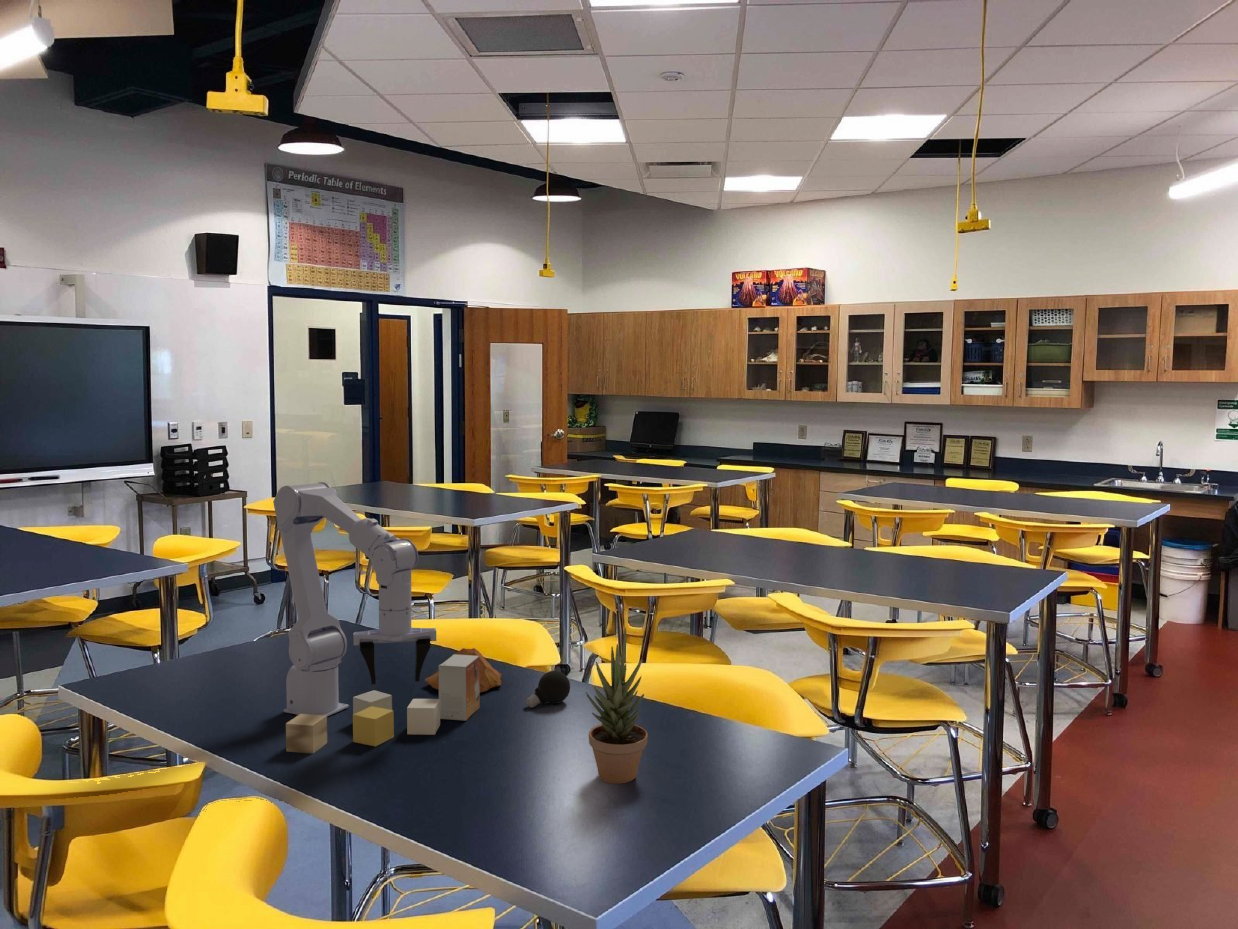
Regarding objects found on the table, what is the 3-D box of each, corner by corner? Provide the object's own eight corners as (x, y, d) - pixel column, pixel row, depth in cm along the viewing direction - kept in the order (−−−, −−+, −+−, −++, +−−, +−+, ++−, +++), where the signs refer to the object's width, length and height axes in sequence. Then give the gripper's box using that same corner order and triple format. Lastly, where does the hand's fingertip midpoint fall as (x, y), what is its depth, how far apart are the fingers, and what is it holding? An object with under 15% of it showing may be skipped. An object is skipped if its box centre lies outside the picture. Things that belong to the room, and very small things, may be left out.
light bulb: (514, 685, 187) (554, 659, 193) (520, 710, 190) (560, 684, 196) (532, 700, 183) (573, 673, 188) (539, 725, 186) (579, 698, 191)
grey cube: (353, 723, 178) (352, 697, 178) (374, 715, 182) (374, 690, 182) (371, 728, 175) (370, 702, 175) (392, 721, 179) (391, 695, 179)
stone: (512, 691, 205) (519, 655, 200) (468, 727, 193) (474, 690, 189) (459, 658, 211) (465, 623, 206) (414, 691, 199) (418, 654, 194)
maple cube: (286, 751, 164) (285, 723, 164) (301, 741, 169) (300, 713, 168) (313, 754, 163) (312, 725, 163) (327, 743, 168) (326, 715, 168)
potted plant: (627, 793, 148) (629, 638, 146) (577, 780, 153) (578, 629, 151) (659, 772, 157) (661, 624, 154) (610, 759, 162) (611, 616, 160)
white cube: (407, 734, 172) (407, 707, 172) (413, 724, 177) (413, 698, 177) (434, 735, 172) (434, 708, 172) (440, 725, 177) (440, 699, 177)
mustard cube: (353, 742, 169) (352, 714, 168) (371, 733, 173) (371, 706, 173) (375, 747, 167) (375, 719, 166) (393, 737, 171) (393, 710, 171)
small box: (466, 721, 179) (465, 667, 178) (438, 719, 180) (437, 665, 179) (480, 707, 187) (480, 655, 186) (453, 705, 188) (453, 653, 187)
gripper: (353, 614, 165) (353, 691, 167) (437, 610, 169) (437, 685, 170) (353, 605, 172) (354, 678, 173) (434, 601, 176) (434, 673, 177)
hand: (395, 681), depth 172 cm, fingers open, 7 cm apart
